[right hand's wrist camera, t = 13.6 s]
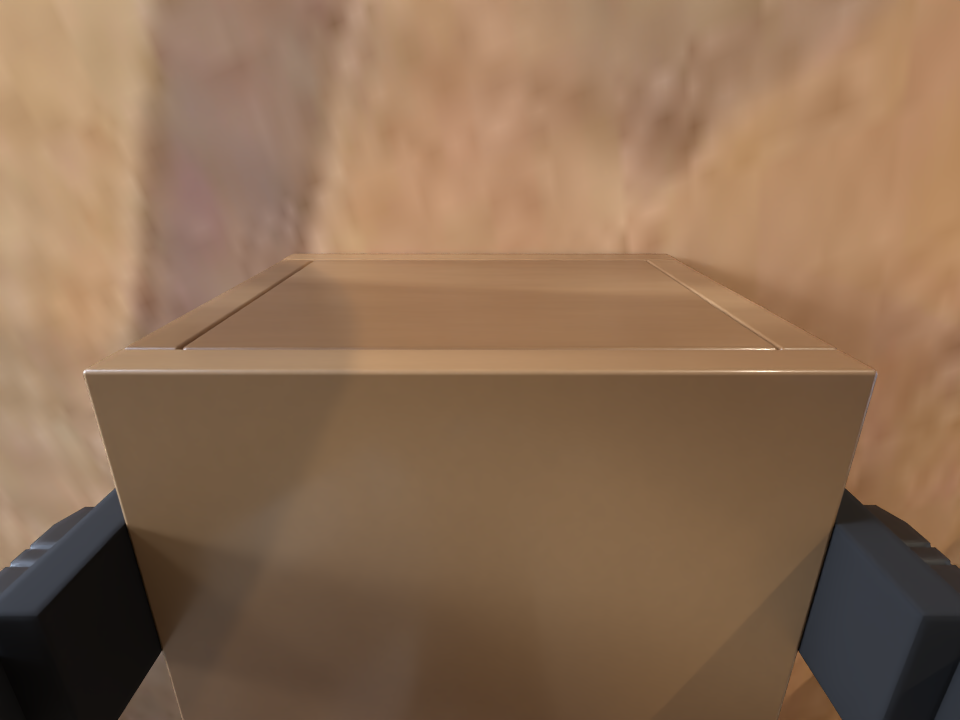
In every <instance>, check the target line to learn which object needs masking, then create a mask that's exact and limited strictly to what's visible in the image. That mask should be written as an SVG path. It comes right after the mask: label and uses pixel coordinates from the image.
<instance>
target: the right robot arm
mask: <svg viewBox="0 0 960 720" xmlns="http://www.w3.org/2000/svg"><path fill="white" fill-rule="evenodd" d="M161 651H162V648H161V644H160V641H159V637H158V634H157V630H156V627H155V623H154V620H153V616H152V613H151V609H150V606H149V602H148V599H147V595H146V592H145V588H144V585H143V582H142V578H141V575H140V571H139V568H138V564H137V561H136V557H135V554H134V550H133V547H132V543H131V540H130V536H129V533H128V529H127V526H126V522H125V519H124V515H123V512H122V508H121V505H120V501H119V498H118V494H117V491H116V488H115V489H114V490H113V491H112V492H111V493H109V494H108V495H107V496H106V497H105V498H104V499H103V500H102V501H101V502H100V503H99V504H98V505H96V506H95V507H84V508H82V509H81V510H79V511H77V512H75V513H74V514H72V515H70V516H68V517H67V518H65V519H63V520H61V521H60V522H58V523H56V524H54V525H53V526H52V527H51V528H50V529H49V530H47V531H46V532H45V533H44V534H43V535H42V536H41V537H39V538H38V539H37V540H36V541H35V542H34V543H33V544H31V548H30V549H26V550H25V551H23V552H22V553H21V554H20V555H19V556H18V557H17V558H15V559H14V560H13V561H12V562H11V565H10V567H5V568H4V569H3V570H2V571H1V572H0V720H118V719H119V717H120V716H121V714H122V712H123V711H124V709H125V708H126V706H127V705H128V703H129V701H130V700H131V698H132V697H133V695H134V694H135V692H136V690H137V689H138V687H139V686H140V684H141V683H142V681H143V679H144V678H145V676H146V675H147V673H148V672H149V670H150V668H151V667H152V665H153V664H154V662H155V661H156V659H157V657H158V656H159V654H160V653H161ZM798 651H799V653H800V654H801V656H802V657H803V659H804V660H805V662H806V663H807V665H808V667H809V668H810V670H811V671H812V673H813V674H814V676H815V678H816V679H817V681H818V682H819V684H820V685H821V687H822V689H823V690H824V692H825V693H826V695H827V696H828V698H829V700H830V701H831V703H832V704H833V706H834V707H835V709H836V711H837V712H838V714H839V715H840V717H841V718H842V720H960V569H959V568H958V567H957V566H956V565H951V563H950V560H949V559H948V558H947V557H945V556H944V555H943V554H942V553H941V552H940V551H939V550H937V549H936V548H935V547H931V546H930V543H929V542H928V541H927V540H926V539H925V538H924V537H922V536H921V535H920V534H919V533H918V532H917V531H916V530H914V529H913V528H912V527H911V526H910V525H909V524H908V523H906V522H905V521H903V520H901V519H899V518H897V517H896V516H894V515H892V514H890V513H889V512H887V511H885V510H883V509H881V508H880V507H878V506H876V505H863V504H862V503H860V502H859V501H858V500H857V499H856V498H855V497H854V496H853V495H852V494H851V493H850V492H849V491H847V490H846V489H844V492H843V496H842V499H841V503H840V506H839V509H838V513H837V516H836V520H835V523H834V527H833V530H832V534H831V537H830V541H829V544H828V547H827V551H826V554H825V558H824V561H823V565H822V568H821V572H820V575H819V579H818V582H817V586H816V589H815V592H814V596H813V599H812V603H811V606H810V610H809V613H808V617H807V620H806V624H805V627H804V630H803V634H802V637H801V641H800V644H799V648H798Z"/></svg>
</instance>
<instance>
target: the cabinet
mask: <svg viewBox="0 0 960 720" xmlns="http://www.w3.org/2000/svg"><path fill="white" fill-rule="evenodd" d="M83 376H84V380H85V383H86V387H87V390H88V394H89V397H90V401H91V404H92V407H93V411H94V414H95V418H96V421H97V425H98V428H99V432H100V435H101V439H102V442H103V446H104V449H105V453H106V456H107V460H108V463H109V467H110V470H111V474H112V477H113V481H114V484H115V488H116V491H117V494H118V498H119V501H120V505H121V508H122V512H123V515H124V519H125V522H126V526H127V529H128V533H129V536H130V540H131V543H132V547H133V550H134V554H135V557H136V561H137V564H138V568H139V571H140V575H141V578H142V582H143V585H144V588H145V592H146V595H147V599H148V602H149V606H150V609H151V613H152V616H153V620H154V623H155V627H156V630H157V634H158V637H159V641H160V644H161V648H162V651H163V655H164V658H165V662H166V665H167V669H168V672H169V675H170V679H171V682H172V686H173V689H174V693H175V696H176V700H177V703H178V707H179V710H180V714H181V717H182V720H778V717H779V713H780V710H781V707H782V703H783V700H784V696H785V693H786V689H787V686H788V682H789V679H790V675H791V672H792V668H793V665H794V662H795V658H796V655H797V651H798V648H799V644H800V641H801V637H802V634H803V630H804V627H805V624H806V620H807V617H808V613H809V610H810V606H811V603H812V599H813V596H814V592H815V589H816V586H817V582H818V579H819V575H820V572H821V568H822V565H823V561H824V558H825V554H826V551H827V547H828V544H829V541H830V537H831V534H832V530H833V527H834V523H835V520H836V516H837V513H838V509H839V506H840V503H841V499H842V496H843V492H844V489H845V485H846V482H847V478H848V475H849V471H850V468H851V465H852V461H853V458H854V454H855V451H856V447H857V444H858V440H859V437H860V433H861V430H862V426H863V423H864V420H865V416H866V413H867V409H868V406H869V402H870V399H871V395H872V392H873V388H874V385H875V382H876V378H877V371H876V370H875V369H873V368H871V367H869V366H867V365H866V364H864V363H862V362H860V361H858V360H857V359H855V358H853V357H851V356H849V355H848V354H846V353H844V352H842V351H840V350H837V349H836V348H835V347H833V346H832V345H830V344H828V343H826V342H824V341H823V340H821V339H819V338H817V337H815V336H814V335H812V334H810V333H808V332H806V331H805V330H803V329H801V328H799V327H797V326H795V325H794V324H792V323H790V322H788V321H786V320H785V319H783V318H781V317H779V316H777V315H776V314H774V313H772V312H770V311H768V310H767V309H765V308H763V307H761V306H759V305H757V304H756V303H754V302H752V301H750V300H748V299H747V298H745V297H743V296H741V295H739V294H738V293H736V292H734V291H732V290H730V289H729V288H727V287H725V286H723V285H721V284H719V283H718V282H716V281H714V280H712V279H710V278H709V277H707V276H705V275H703V274H701V273H700V272H698V271H696V270H694V269H692V268H691V267H689V266H687V265H685V264H683V263H681V262H680V261H678V260H677V259H675V258H673V257H671V256H669V255H668V254H292V255H290V256H289V257H287V258H285V259H283V261H281V262H279V263H277V264H275V265H273V266H272V267H270V268H268V269H266V270H264V271H263V272H261V273H259V274H257V275H255V276H254V277H252V278H250V279H248V280H246V281H245V282H243V283H241V284H239V285H237V286H236V287H234V288H232V289H230V290H228V291H227V292H225V293H223V294H221V295H219V296H218V297H216V298H214V299H212V300H210V301H209V302H207V303H205V304H203V305H201V306H199V307H198V308H196V309H194V310H192V311H190V312H189V313H187V314H185V315H183V316H181V317H180V318H178V319H176V320H174V321H172V322H171V323H169V324H167V325H165V326H163V327H162V328H160V329H158V330H156V331H154V332H153V333H151V334H149V335H147V336H145V337H144V338H142V339H140V340H138V341H136V342H134V343H133V344H131V345H129V346H127V347H126V348H125V349H124V350H119V351H117V352H116V353H114V354H112V355H110V356H108V357H107V358H105V359H103V360H101V361H99V362H98V363H96V364H94V365H92V366H90V367H88V368H87V369H85V370H84V371H83Z"/></svg>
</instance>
